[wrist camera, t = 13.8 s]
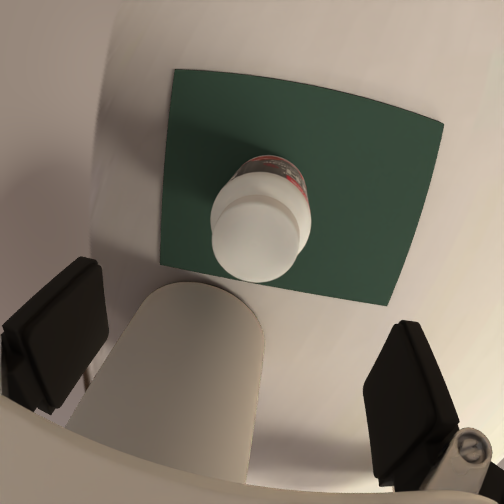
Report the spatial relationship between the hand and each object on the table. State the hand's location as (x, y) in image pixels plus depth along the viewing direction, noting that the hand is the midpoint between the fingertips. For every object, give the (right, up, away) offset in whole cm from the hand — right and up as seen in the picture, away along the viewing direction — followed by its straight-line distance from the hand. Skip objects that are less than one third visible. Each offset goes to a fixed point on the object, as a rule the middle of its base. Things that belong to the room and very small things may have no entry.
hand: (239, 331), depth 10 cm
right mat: (+4, +7, +14) cm, 16 cm away
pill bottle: (+2, +7, +14) cm, 16 cm away
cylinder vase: (-5, -5, +21) cm, 22 cm away
